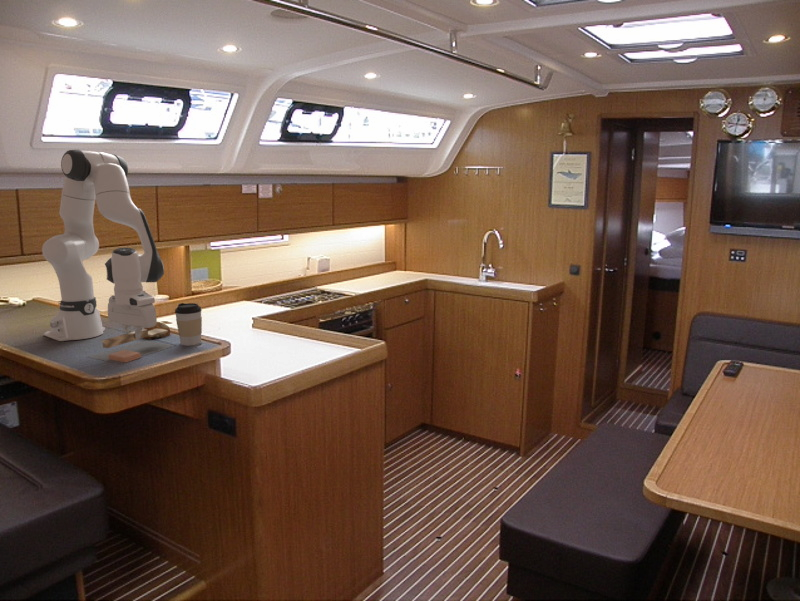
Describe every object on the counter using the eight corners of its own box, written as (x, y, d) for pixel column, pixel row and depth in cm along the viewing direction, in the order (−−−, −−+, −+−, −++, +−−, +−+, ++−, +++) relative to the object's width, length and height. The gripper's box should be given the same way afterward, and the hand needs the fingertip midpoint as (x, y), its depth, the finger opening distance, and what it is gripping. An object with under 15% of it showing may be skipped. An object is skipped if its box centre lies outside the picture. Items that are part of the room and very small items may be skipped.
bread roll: (174, 345, 243) (176, 324, 245) (161, 340, 233) (164, 319, 235) (148, 345, 244) (151, 324, 246) (135, 340, 234) (138, 318, 236)
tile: (108, 354, 210) (124, 357, 206) (124, 349, 215) (140, 352, 211) (109, 359, 210) (125, 362, 207) (124, 354, 215) (140, 357, 212)
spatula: (111, 348, 206) (110, 341, 206) (99, 346, 209) (98, 339, 209) (168, 332, 226) (167, 325, 226) (157, 330, 229) (156, 323, 228)
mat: (87, 360, 214) (87, 357, 213) (144, 343, 233) (144, 340, 233) (119, 366, 206) (119, 363, 206) (176, 348, 226) (176, 345, 225)
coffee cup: (210, 343, 231) (206, 302, 228) (192, 350, 223) (188, 307, 220) (190, 341, 235) (186, 300, 232) (172, 347, 227) (168, 305, 223)
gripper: (100, 296, 216) (105, 336, 219) (142, 301, 207) (146, 343, 209) (116, 293, 222) (121, 332, 225) (158, 298, 212) (162, 338, 215)
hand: (133, 337), depth 217 cm, fingers closed on spatula, 2 cm apart
